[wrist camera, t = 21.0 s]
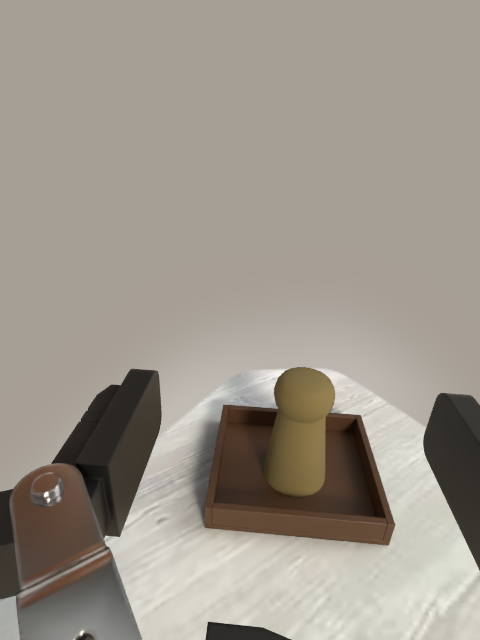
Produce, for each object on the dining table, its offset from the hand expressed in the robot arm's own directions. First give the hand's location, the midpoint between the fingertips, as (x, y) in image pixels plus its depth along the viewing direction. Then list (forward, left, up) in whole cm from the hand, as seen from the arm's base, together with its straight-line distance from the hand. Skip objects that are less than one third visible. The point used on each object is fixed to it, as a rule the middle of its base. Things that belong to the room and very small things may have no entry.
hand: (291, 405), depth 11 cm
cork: (+3, +18, -22) cm, 29 cm away
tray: (+3, +18, -23) cm, 29 cm away
